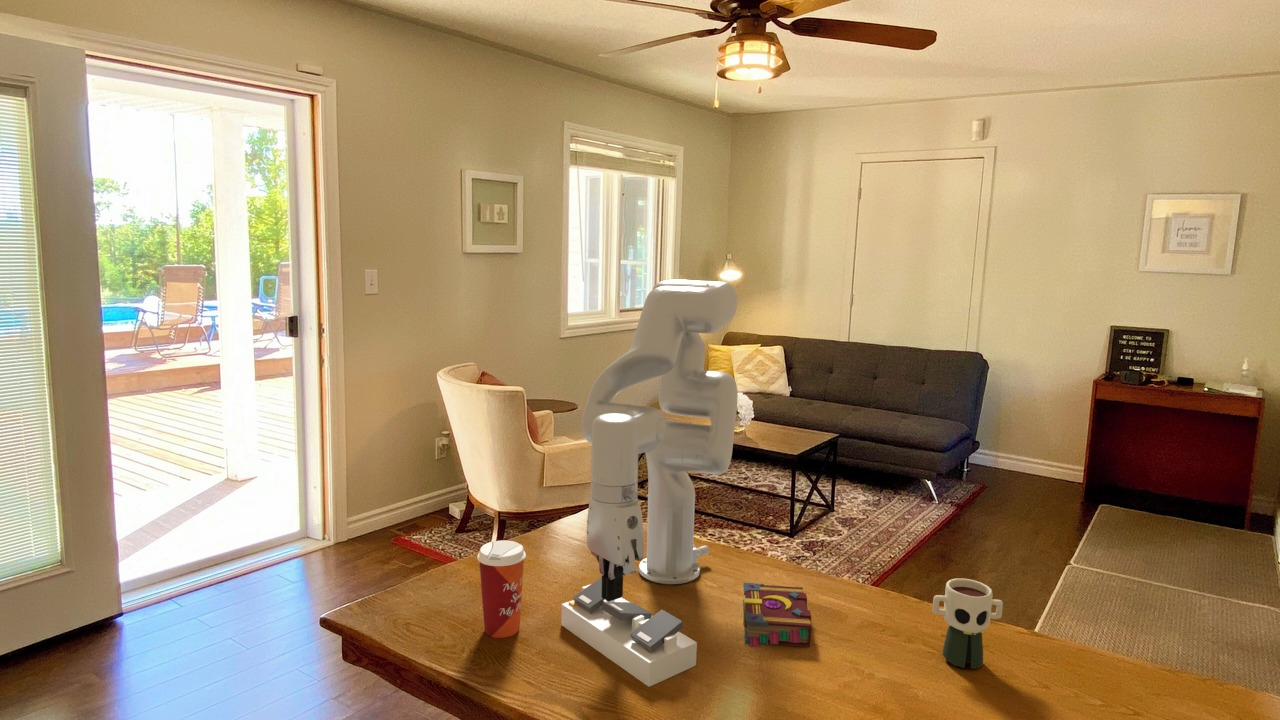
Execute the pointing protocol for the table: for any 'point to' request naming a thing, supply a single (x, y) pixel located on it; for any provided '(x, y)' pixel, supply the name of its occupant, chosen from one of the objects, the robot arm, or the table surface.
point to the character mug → (966, 619)
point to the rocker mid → (625, 610)
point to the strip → (629, 643)
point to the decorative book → (776, 615)
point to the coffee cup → (501, 586)
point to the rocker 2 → (656, 630)
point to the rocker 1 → (590, 597)
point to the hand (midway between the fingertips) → (612, 597)
